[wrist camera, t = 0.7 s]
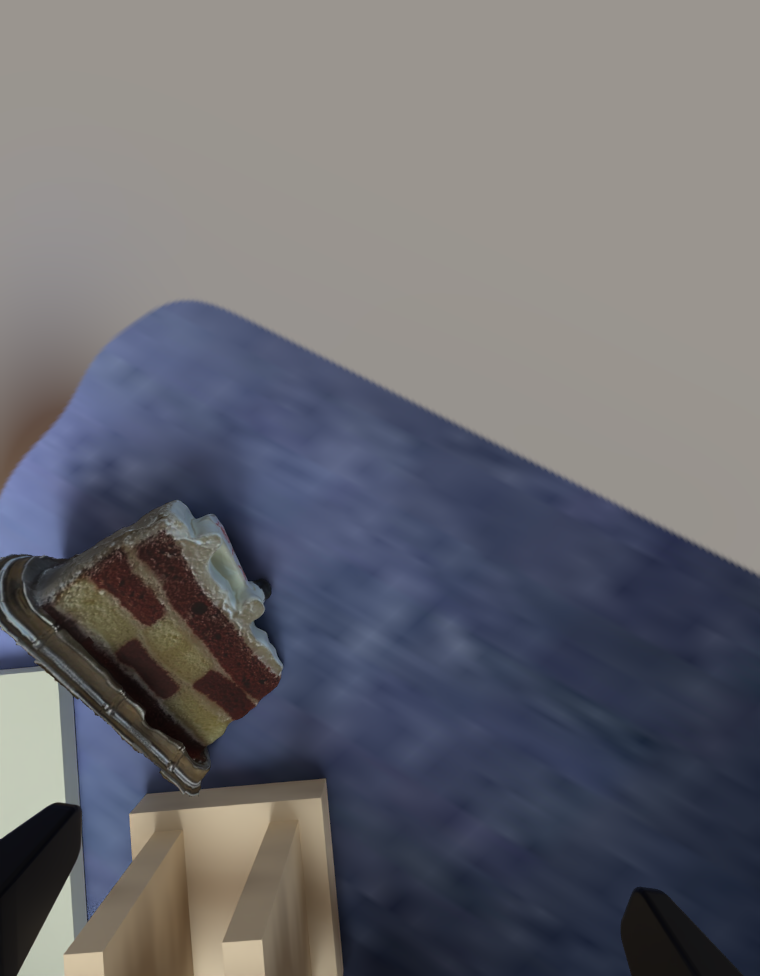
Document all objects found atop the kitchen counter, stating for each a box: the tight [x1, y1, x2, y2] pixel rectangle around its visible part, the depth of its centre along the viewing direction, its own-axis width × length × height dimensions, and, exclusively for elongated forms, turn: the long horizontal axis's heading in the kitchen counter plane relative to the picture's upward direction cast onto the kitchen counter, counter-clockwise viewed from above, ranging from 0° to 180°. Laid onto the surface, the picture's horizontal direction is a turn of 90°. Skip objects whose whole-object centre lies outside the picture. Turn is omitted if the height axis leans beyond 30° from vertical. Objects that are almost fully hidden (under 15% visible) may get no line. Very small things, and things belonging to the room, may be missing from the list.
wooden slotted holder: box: [63, 778, 343, 976], centre depth 16 cm, size 8×8×6 cm
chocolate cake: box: [0, 500, 283, 797], centre depth 18 cm, size 10×7×12 cm
